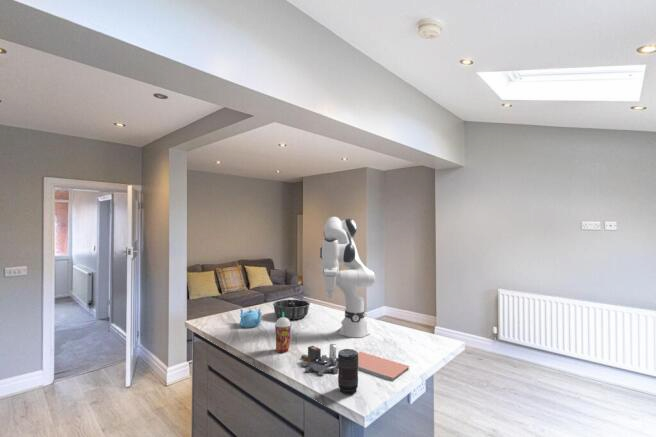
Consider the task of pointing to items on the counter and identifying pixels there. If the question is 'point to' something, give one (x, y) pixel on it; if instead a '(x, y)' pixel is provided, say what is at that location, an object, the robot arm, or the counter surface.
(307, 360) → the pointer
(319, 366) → the sprocket
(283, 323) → the smoothie
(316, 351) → the grey and orange block
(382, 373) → the notebook
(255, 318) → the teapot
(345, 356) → the camera lens
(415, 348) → the counter surface
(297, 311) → the bundt pan
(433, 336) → the counter surface
